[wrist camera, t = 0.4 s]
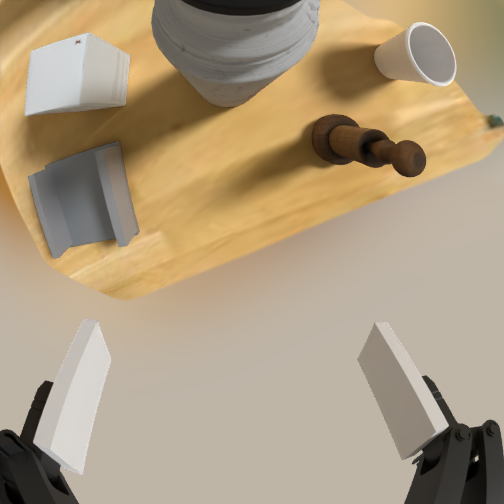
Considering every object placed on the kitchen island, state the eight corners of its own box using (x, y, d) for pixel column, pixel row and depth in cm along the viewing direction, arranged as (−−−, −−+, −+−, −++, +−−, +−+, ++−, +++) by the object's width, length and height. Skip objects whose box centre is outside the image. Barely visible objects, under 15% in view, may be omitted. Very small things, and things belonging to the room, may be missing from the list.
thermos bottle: (273, 75, 29) (414, -20, 4) (231, 120, 31) (261, 114, 6) (224, 38, 26) (235, -126, 1) (182, 83, 28) (61, -7, 4)
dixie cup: (390, 28, 26) (431, 14, 17) (420, 74, 29) (465, 71, 20) (354, 50, 27) (393, 34, 19) (388, 97, 31) (433, 98, 22)
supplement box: (83, 62, 24) (30, 48, 13) (132, 55, 25) (91, 29, 14) (78, 112, 28) (22, 117, 17) (126, 107, 29) (80, 105, 18)
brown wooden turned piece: (305, 120, 32) (377, 125, 16) (349, 110, 32) (440, 115, 16) (318, 167, 35) (391, 212, 19) (360, 156, 35) (448, 192, 19)
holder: (48, 164, 30) (27, 172, 25) (119, 140, 31) (102, 145, 26) (70, 244, 36) (54, 261, 31) (139, 231, 37) (128, 249, 32)
